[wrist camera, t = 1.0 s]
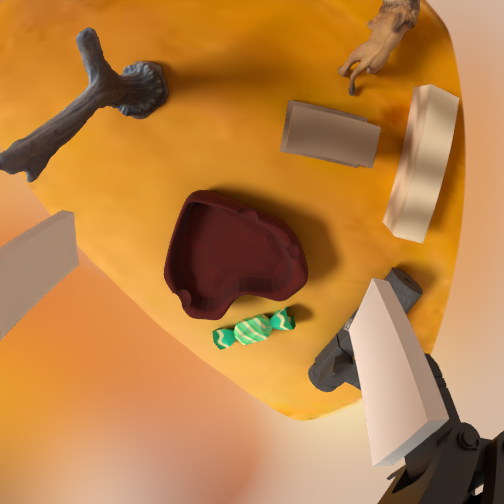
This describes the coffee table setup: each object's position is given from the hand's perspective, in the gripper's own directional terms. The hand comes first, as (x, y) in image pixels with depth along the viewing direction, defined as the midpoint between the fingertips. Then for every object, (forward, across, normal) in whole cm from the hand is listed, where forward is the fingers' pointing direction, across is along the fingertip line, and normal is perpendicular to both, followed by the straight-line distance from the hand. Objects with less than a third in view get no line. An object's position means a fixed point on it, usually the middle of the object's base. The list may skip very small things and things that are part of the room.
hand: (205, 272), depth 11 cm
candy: (+24, +4, -22) cm, 33 cm away
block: (+24, +18, +7) cm, 31 cm away
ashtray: (+24, -2, -10) cm, 26 cm away
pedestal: (+24, +6, +6) cm, 25 cm away
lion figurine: (+24, +9, +19) cm, 32 cm away
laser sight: (+24, +19, -19) cm, 37 cm away
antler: (+24, -15, +7) cm, 29 cm away
